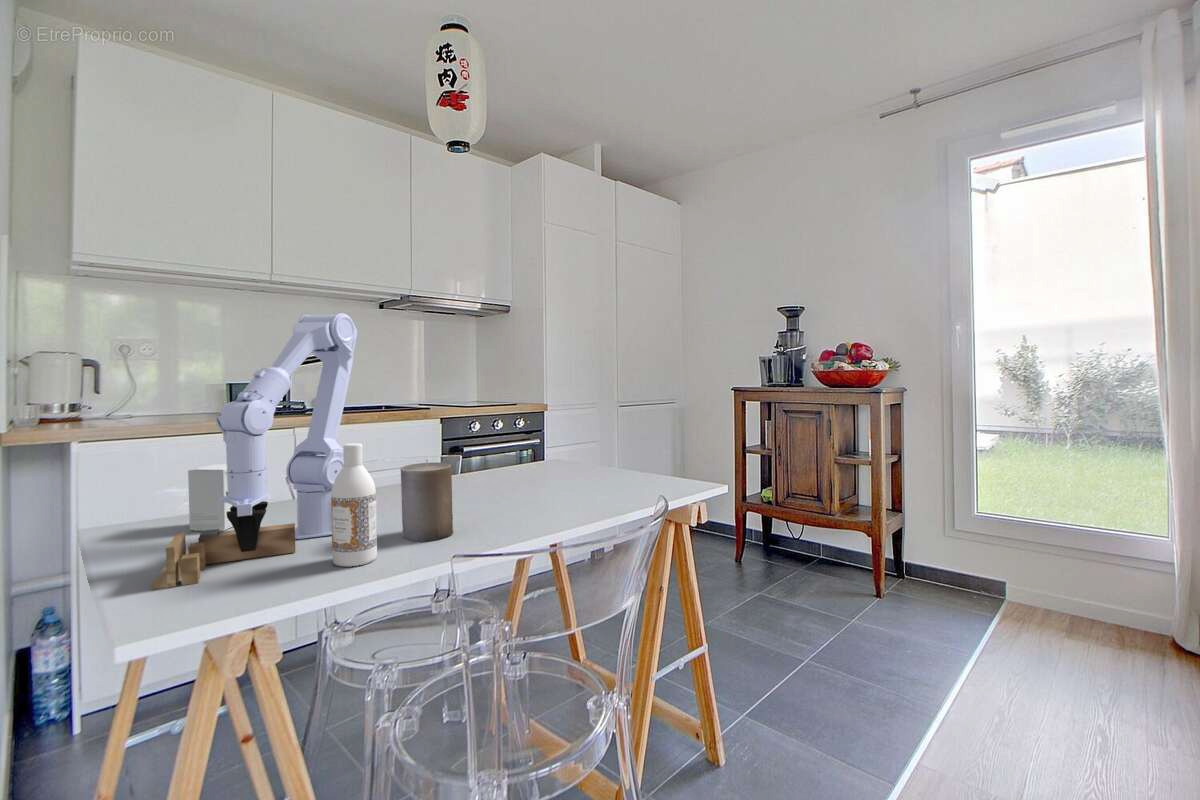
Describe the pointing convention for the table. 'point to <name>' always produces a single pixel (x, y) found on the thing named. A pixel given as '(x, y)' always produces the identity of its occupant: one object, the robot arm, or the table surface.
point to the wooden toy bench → (181, 563)
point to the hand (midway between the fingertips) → (249, 547)
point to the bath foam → (353, 512)
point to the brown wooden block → (228, 549)
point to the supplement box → (208, 498)
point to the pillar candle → (426, 501)
